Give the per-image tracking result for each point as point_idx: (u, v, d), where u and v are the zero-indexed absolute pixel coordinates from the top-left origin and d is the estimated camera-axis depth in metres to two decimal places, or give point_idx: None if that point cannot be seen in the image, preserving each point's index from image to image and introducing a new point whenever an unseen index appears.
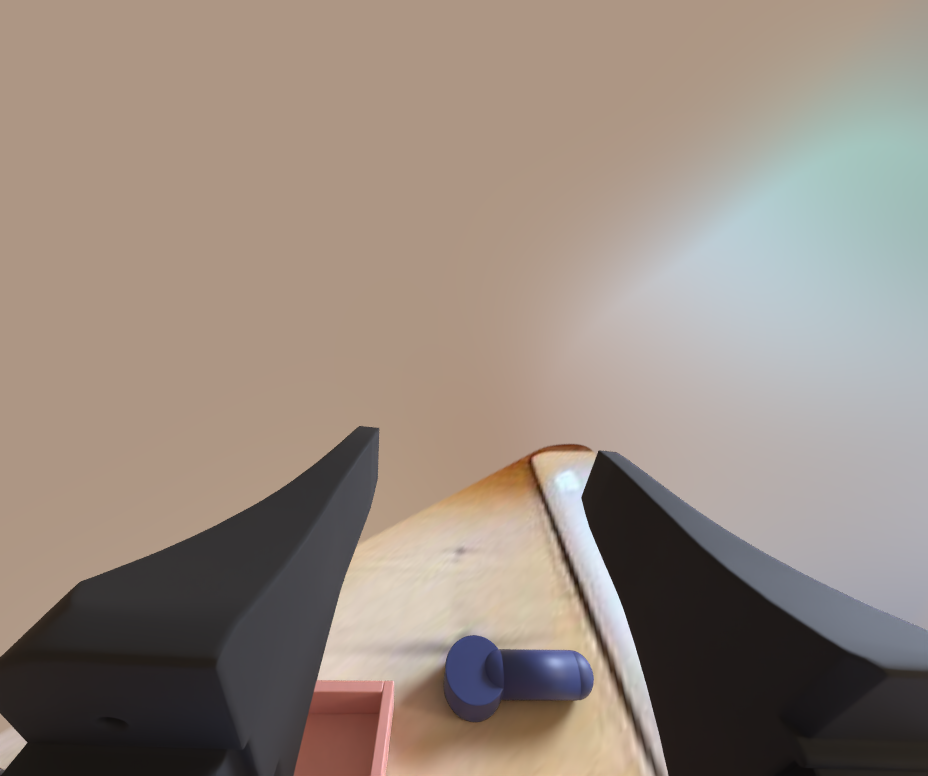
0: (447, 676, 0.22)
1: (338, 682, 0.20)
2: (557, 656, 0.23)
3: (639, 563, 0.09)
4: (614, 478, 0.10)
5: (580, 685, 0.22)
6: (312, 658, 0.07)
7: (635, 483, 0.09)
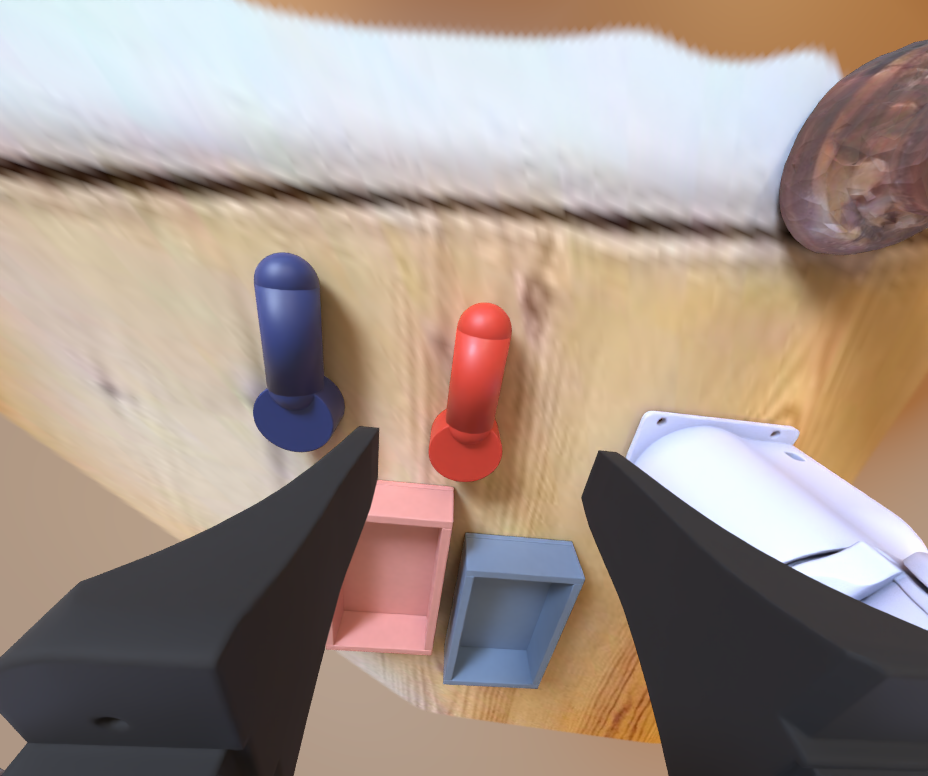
0: (306, 451, 0.18)
1: None
2: (267, 315, 0.15)
3: (639, 563, 0.09)
4: (614, 478, 0.10)
5: (303, 290, 0.15)
6: (312, 658, 0.07)
7: (635, 483, 0.09)
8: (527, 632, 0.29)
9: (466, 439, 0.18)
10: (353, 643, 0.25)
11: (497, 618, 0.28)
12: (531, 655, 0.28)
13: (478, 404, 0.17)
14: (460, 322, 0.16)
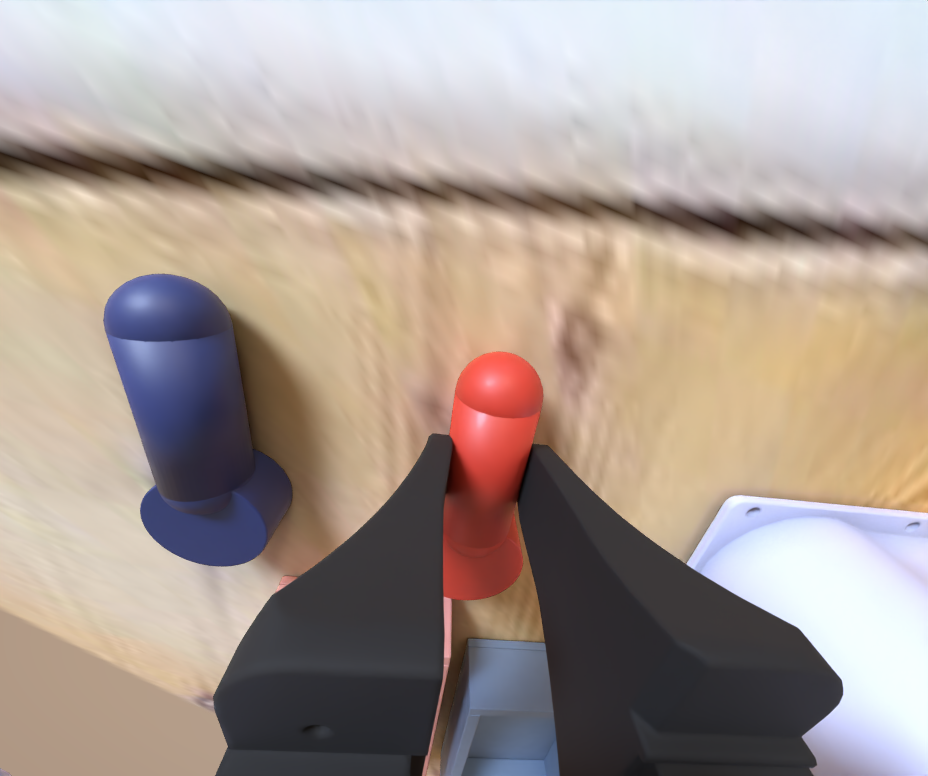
0: (230, 565, 0.12)
1: None
2: (130, 382, 0.09)
3: (551, 556, 0.08)
4: (537, 470, 0.10)
5: (192, 339, 0.09)
6: None
7: (550, 475, 0.09)
8: (545, 742, 0.23)
9: (470, 554, 0.12)
10: None
11: (508, 729, 0.22)
12: (551, 773, 0.22)
13: (489, 510, 0.11)
14: (460, 385, 0.10)
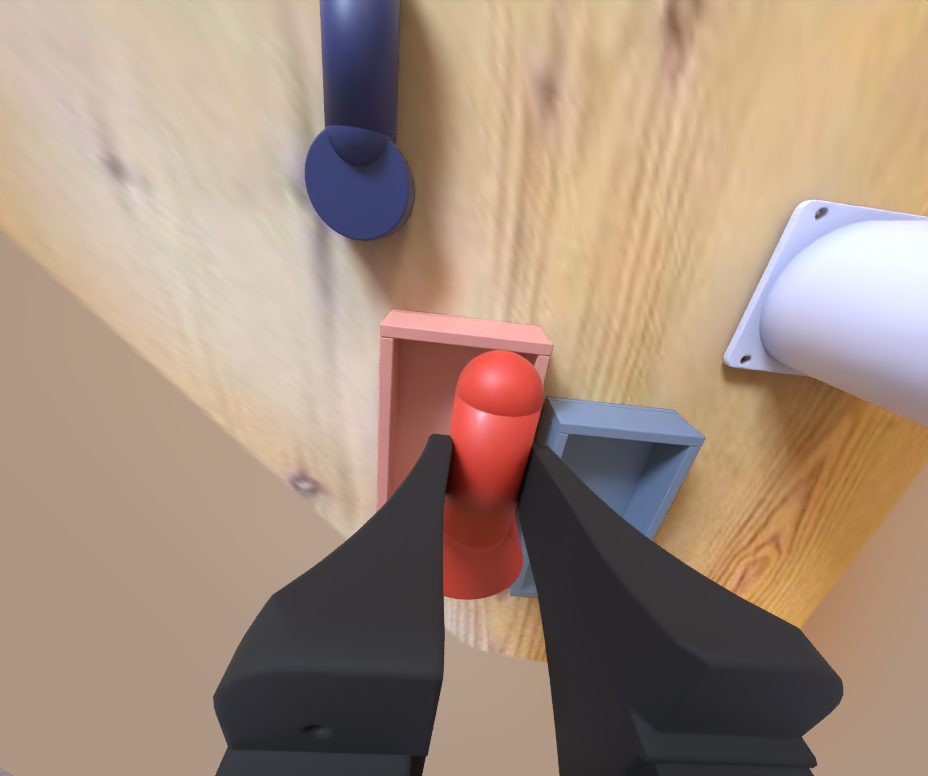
0: (370, 238, 0.14)
1: (381, 391, 0.16)
2: None
3: (550, 556, 0.08)
4: (537, 470, 0.10)
5: None
6: None
7: (550, 475, 0.09)
8: None
9: (470, 553, 0.12)
10: None
11: None
12: None
13: (489, 509, 0.10)
14: (461, 384, 0.10)
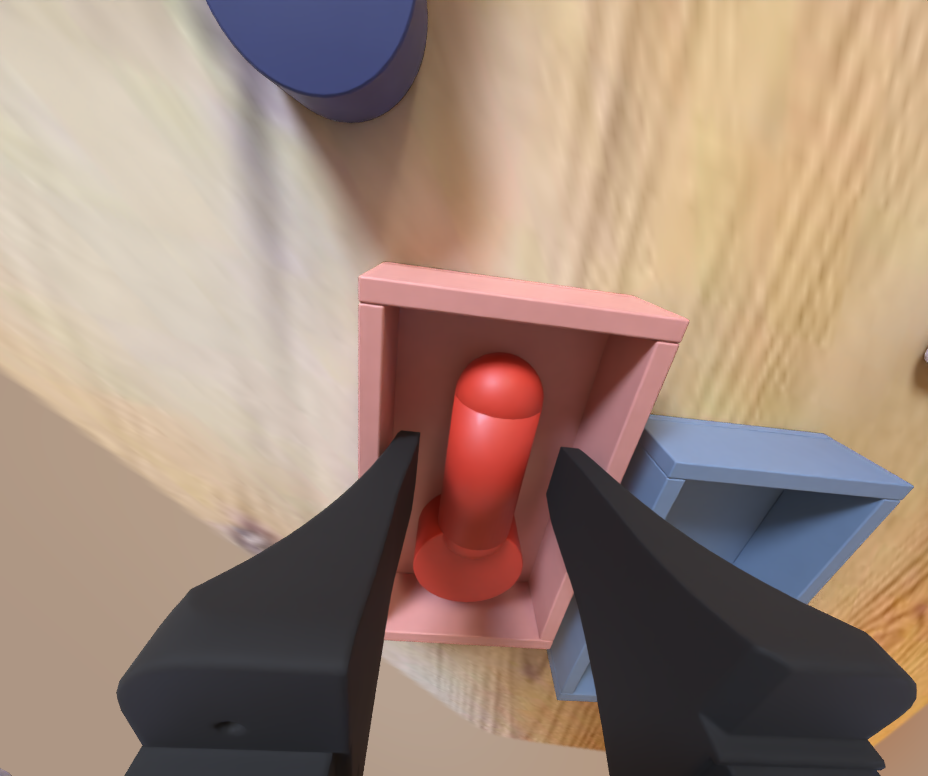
0: (336, 92, 0.07)
1: (362, 406, 0.09)
2: None
3: (591, 559, 0.09)
4: (571, 474, 0.10)
5: None
6: (377, 661, 0.07)
7: (589, 479, 0.09)
8: None
9: (469, 556, 0.11)
10: (409, 627, 0.13)
11: None
12: None
13: (489, 511, 0.10)
14: (460, 386, 0.10)
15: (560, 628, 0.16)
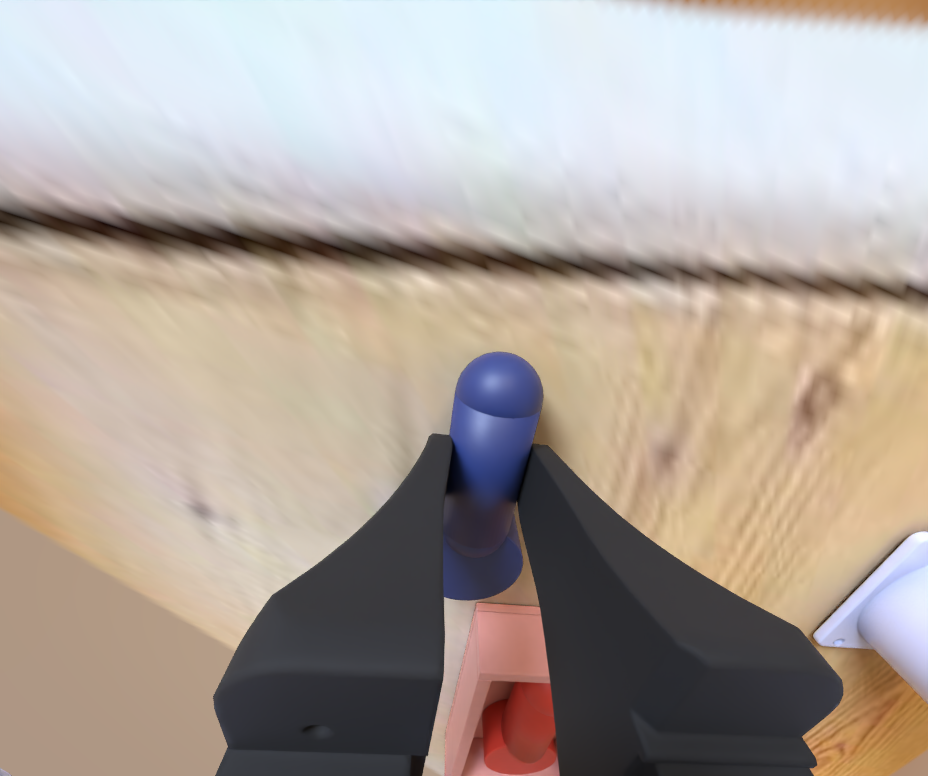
0: (474, 599, 0.13)
1: (471, 711, 0.15)
2: (480, 450, 0.10)
3: (550, 556, 0.08)
4: (537, 471, 0.10)
5: (536, 412, 0.10)
6: None
7: (550, 475, 0.09)
8: None
9: None
10: None
11: None
12: None
13: (539, 748, 0.17)
14: (524, 685, 0.16)
15: None
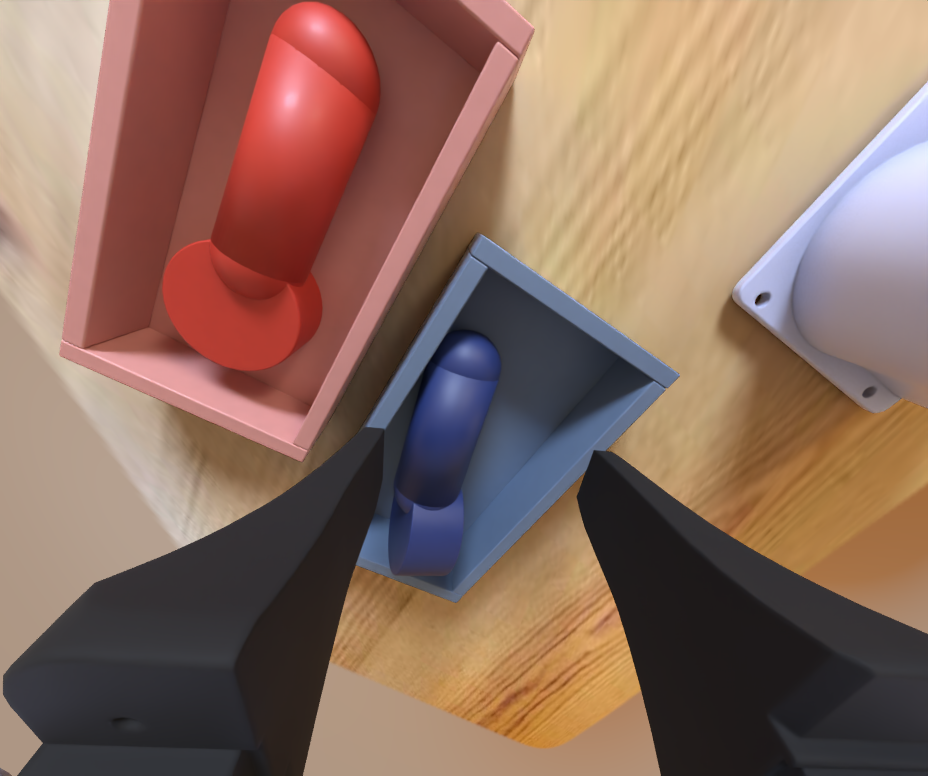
0: (389, 564, 0.14)
1: None
2: None
3: (633, 562, 0.09)
4: (609, 477, 0.10)
5: (449, 371, 0.11)
6: (320, 659, 0.07)
7: (629, 482, 0.09)
8: (472, 511, 0.17)
9: (230, 274, 0.09)
10: (136, 369, 0.11)
11: None
12: (465, 548, 0.17)
13: (264, 206, 0.09)
14: None
15: None
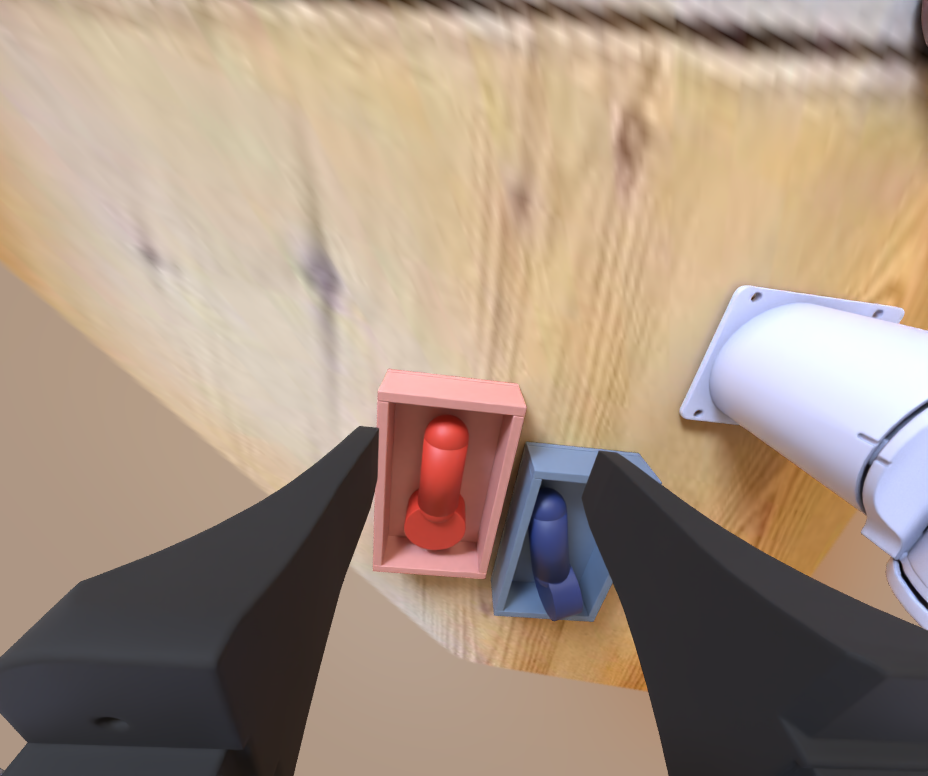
0: (547, 614, 0.25)
1: None
2: None
3: (639, 563, 0.09)
4: (613, 478, 0.10)
5: (541, 520, 0.21)
6: (312, 658, 0.07)
7: (635, 483, 0.09)
8: (581, 563, 0.27)
9: (434, 520, 0.21)
10: (402, 564, 0.23)
11: None
12: (585, 587, 0.27)
13: (442, 496, 0.20)
14: (426, 433, 0.19)
15: (497, 572, 0.26)
